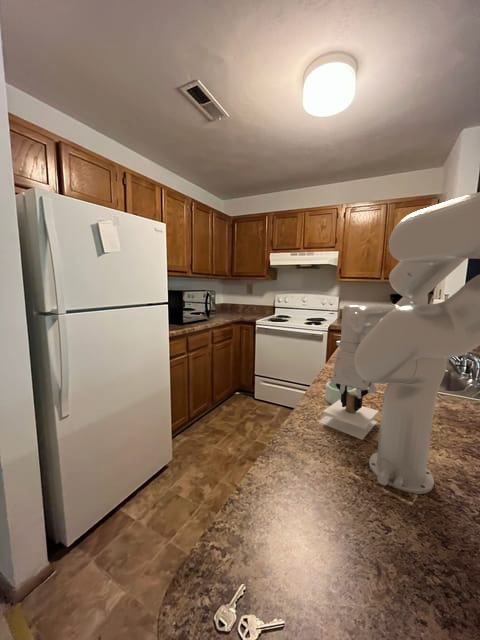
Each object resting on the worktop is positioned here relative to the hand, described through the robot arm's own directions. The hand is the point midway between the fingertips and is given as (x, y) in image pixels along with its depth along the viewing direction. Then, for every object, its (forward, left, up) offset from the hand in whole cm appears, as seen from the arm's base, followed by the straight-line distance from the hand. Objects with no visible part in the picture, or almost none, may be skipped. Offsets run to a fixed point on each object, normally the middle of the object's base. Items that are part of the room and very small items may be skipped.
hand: (351, 407), depth 80 cm
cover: (0, 0, -2) cm, 2 cm away
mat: (+1, +1, -6) cm, 6 cm away
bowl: (+14, +9, -6) cm, 17 cm away
